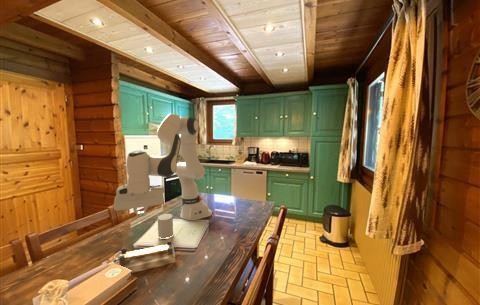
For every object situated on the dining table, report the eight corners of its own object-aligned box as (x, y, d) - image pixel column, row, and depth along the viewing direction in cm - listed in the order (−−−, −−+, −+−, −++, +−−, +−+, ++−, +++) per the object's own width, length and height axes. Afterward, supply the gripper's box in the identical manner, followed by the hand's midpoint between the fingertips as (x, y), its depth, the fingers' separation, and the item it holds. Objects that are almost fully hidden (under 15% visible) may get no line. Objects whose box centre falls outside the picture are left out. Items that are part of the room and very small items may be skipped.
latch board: (173, 248, 104) (172, 235, 103) (175, 262, 93) (175, 248, 92) (120, 259, 95) (120, 246, 94) (116, 276, 84) (115, 261, 83)
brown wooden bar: (171, 246, 99) (171, 243, 99) (171, 250, 96) (171, 247, 96) (121, 255, 91) (121, 252, 91) (120, 261, 87) (119, 257, 87)
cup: (176, 234, 118) (175, 215, 117) (166, 241, 110) (166, 220, 109) (164, 231, 121) (164, 213, 119) (155, 238, 113) (154, 218, 112)
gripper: (163, 182, 96) (164, 209, 97) (114, 187, 88) (116, 216, 89) (164, 186, 90) (165, 214, 92) (111, 191, 82) (114, 223, 84)
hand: (141, 215), depth 90 cm, fingers closed
